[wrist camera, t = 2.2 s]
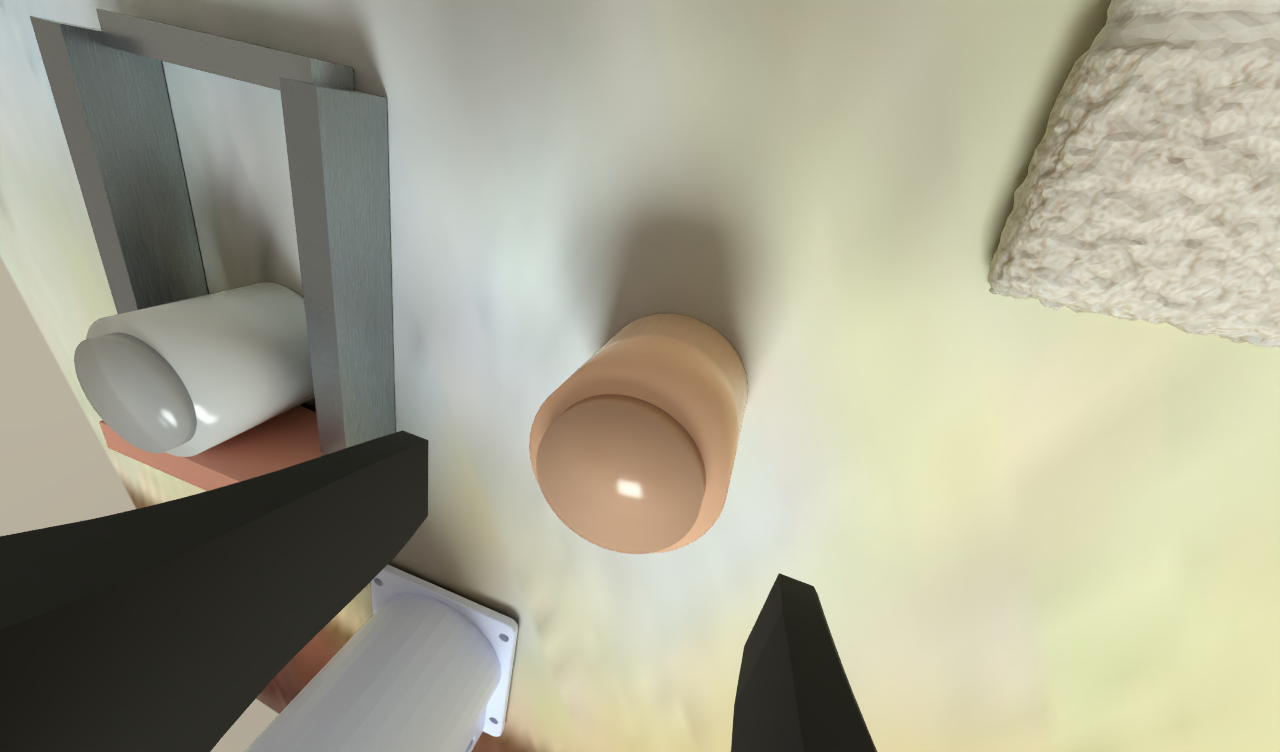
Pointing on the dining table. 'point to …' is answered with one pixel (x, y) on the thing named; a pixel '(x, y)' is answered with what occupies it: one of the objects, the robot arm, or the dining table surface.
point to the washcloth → (1160, 175)
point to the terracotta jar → (643, 436)
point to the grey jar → (198, 367)
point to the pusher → (237, 451)
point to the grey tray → (161, 213)
